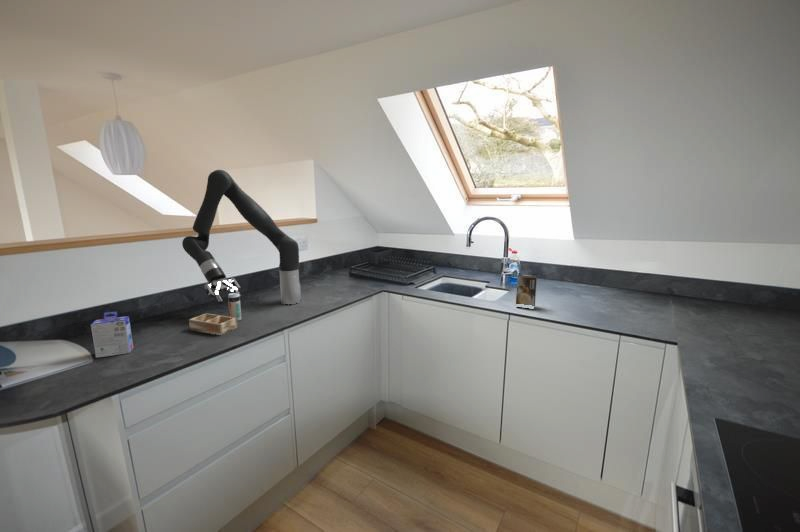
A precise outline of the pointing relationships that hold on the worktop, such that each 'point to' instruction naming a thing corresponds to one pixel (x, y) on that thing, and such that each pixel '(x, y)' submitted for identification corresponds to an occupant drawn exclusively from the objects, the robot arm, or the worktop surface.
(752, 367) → the worktop surface
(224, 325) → the can rack
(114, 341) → the ink cartridge box
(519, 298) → the coffee box
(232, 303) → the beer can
